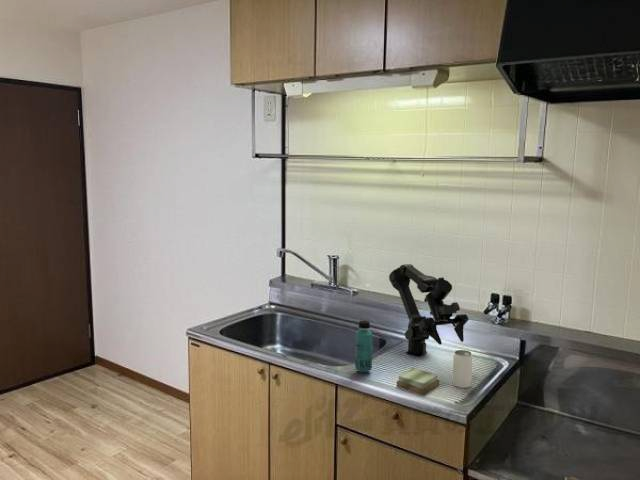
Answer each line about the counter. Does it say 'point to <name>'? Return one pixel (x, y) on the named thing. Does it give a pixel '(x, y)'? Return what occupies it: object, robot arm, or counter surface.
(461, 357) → the can
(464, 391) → the counter surface
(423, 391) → the tower base
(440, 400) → the counter surface
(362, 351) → the beverage bottle
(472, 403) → the counter surface
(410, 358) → the counter surface
